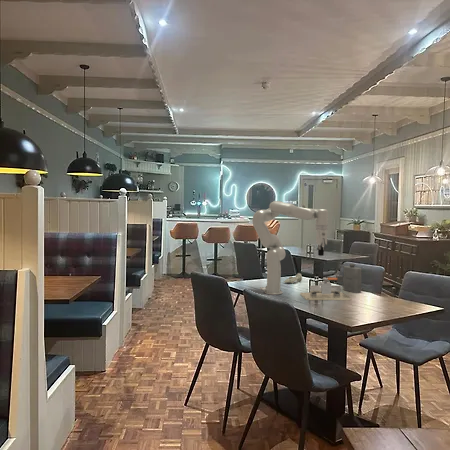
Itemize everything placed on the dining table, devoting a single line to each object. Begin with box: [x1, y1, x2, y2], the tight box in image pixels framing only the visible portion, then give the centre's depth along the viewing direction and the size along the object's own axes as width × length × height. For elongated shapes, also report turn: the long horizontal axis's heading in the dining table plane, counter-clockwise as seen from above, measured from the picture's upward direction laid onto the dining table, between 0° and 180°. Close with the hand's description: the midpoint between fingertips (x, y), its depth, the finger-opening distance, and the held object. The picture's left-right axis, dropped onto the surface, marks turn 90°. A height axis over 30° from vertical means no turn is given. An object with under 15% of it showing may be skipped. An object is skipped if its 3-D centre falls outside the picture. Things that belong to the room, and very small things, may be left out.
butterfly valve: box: [283, 257, 303, 284], centre depth 343 cm, size 9×20×17 cm
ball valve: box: [299, 280, 352, 301], centre depth 289 cm, size 30×16×12 cm, turn 93°
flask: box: [342, 263, 363, 294], centre depth 312 cm, size 15×6×20 cm, turn 32°
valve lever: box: [322, 275, 344, 283], centre depth 289 cm, size 14×3×4 cm, turn 96°
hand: (320, 255), depth 283 cm, fingers closed
